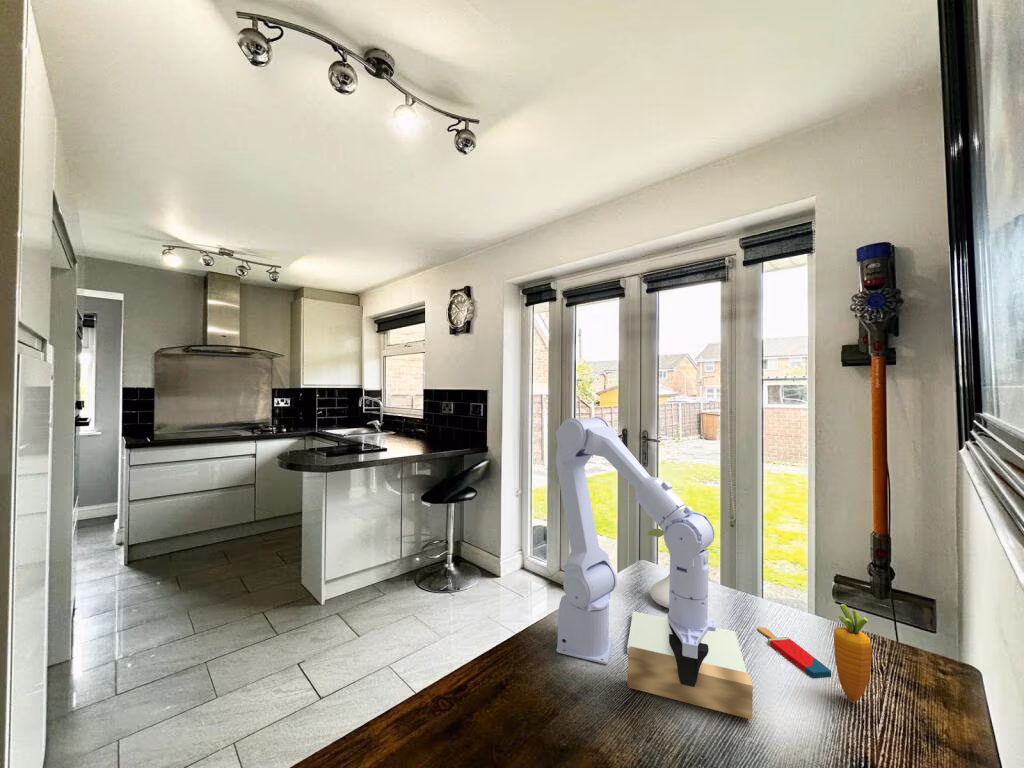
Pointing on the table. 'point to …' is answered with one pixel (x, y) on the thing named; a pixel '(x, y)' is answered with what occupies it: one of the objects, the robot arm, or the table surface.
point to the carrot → (852, 655)
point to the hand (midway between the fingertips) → (686, 676)
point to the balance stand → (721, 642)
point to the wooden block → (710, 690)
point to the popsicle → (796, 655)
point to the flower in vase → (661, 588)
